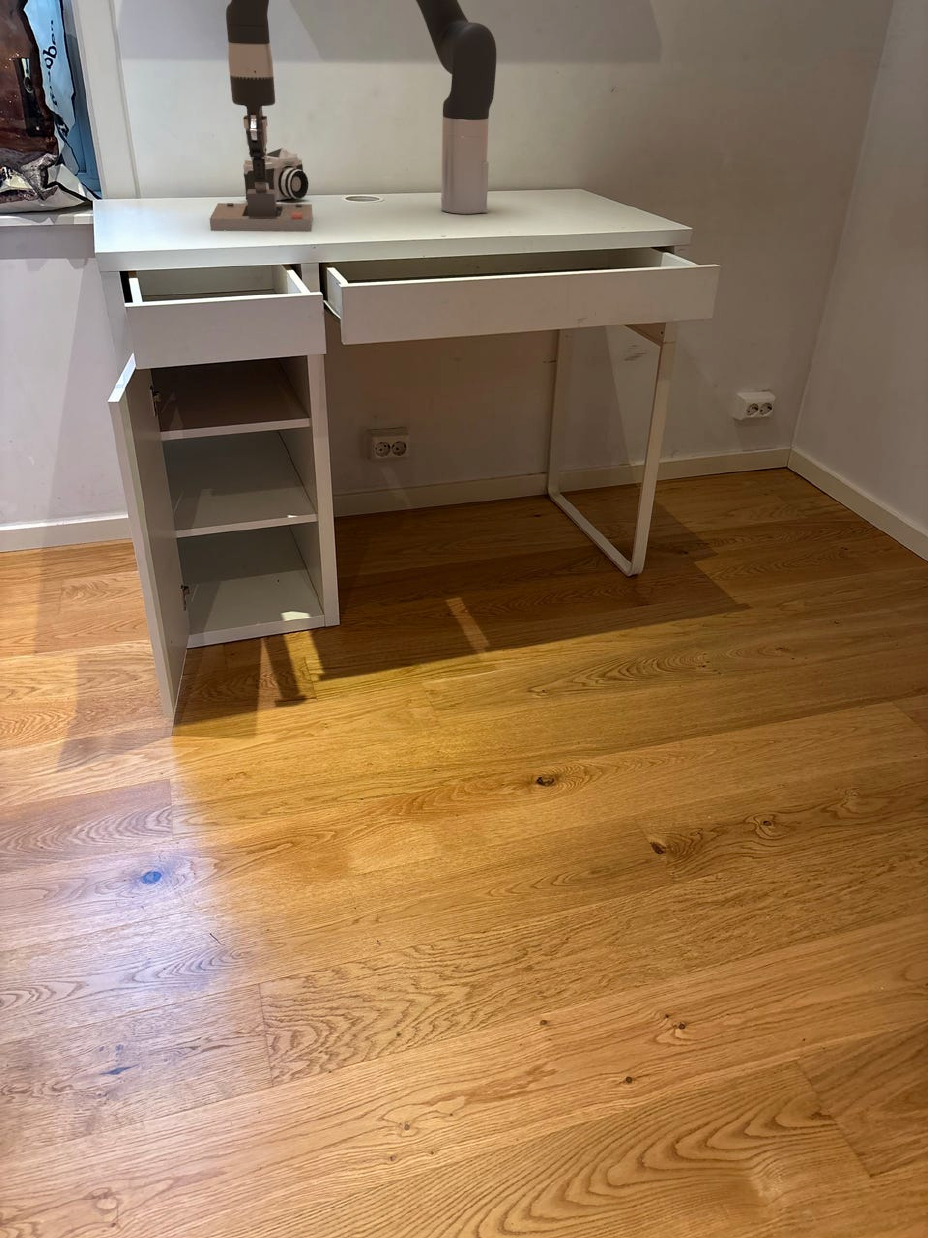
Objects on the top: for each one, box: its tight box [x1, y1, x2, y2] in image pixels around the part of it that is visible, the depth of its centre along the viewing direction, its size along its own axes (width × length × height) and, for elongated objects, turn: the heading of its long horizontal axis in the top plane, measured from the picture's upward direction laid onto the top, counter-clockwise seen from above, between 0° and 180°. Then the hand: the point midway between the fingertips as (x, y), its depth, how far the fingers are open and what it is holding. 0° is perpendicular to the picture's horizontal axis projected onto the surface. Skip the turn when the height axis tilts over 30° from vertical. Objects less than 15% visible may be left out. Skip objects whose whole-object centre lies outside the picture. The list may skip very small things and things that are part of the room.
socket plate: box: [209, 202, 314, 233], centre depth 176 cm, size 18×15×3 cm
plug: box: [246, 182, 278, 217], centre depth 175 cm, size 5×4×8 cm
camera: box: [242, 147, 309, 202], centre depth 197 cm, size 16×9×10 cm, turn 143°
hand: (260, 181), depth 173 cm, fingers closed
